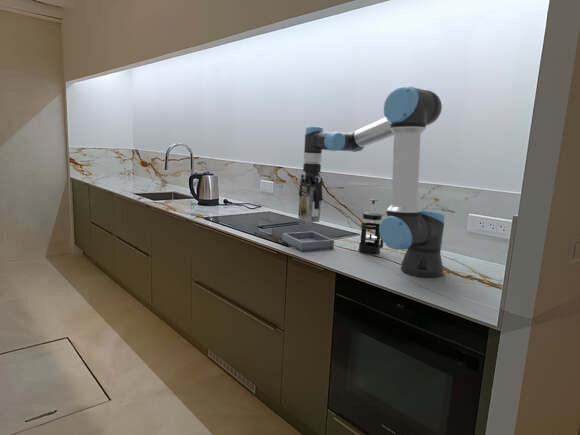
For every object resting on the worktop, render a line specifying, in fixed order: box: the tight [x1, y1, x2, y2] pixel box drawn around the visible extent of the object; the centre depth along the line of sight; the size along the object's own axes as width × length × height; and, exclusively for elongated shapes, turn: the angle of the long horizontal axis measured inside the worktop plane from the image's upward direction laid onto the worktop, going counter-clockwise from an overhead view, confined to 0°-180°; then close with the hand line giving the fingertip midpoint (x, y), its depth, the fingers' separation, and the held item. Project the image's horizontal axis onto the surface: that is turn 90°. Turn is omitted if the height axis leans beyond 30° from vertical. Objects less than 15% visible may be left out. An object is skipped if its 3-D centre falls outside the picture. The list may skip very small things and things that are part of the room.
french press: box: [357, 198, 384, 255], centre depth 175 cm, size 12×9×23 cm
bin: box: [282, 230, 335, 253], centre depth 183 cm, size 18×16×4 cm
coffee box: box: [298, 182, 322, 223], centre depth 180 cm, size 9×6×16 cm
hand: (309, 214), depth 181 cm, fingers closed on coffee box, 9 cm apart
